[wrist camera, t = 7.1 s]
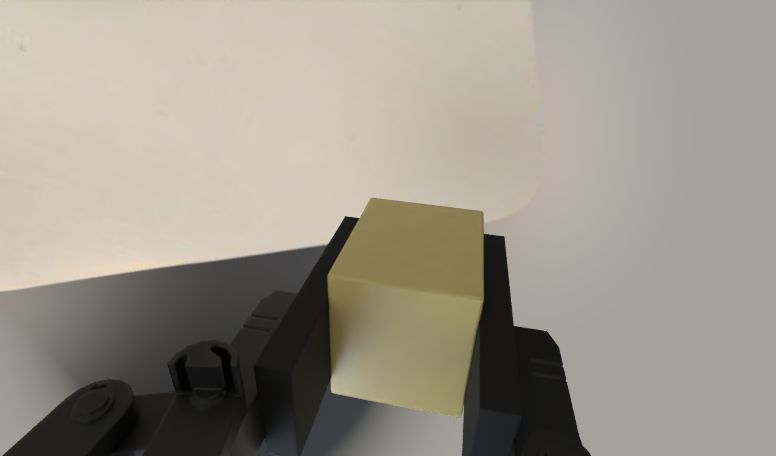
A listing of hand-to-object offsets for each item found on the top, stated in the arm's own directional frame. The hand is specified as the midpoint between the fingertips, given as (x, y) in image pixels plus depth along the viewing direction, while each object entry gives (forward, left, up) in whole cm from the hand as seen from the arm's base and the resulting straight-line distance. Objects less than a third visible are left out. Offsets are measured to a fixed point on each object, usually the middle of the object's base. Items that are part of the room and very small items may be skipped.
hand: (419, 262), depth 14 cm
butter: (0, 0, 0) cm, 0 cm away
